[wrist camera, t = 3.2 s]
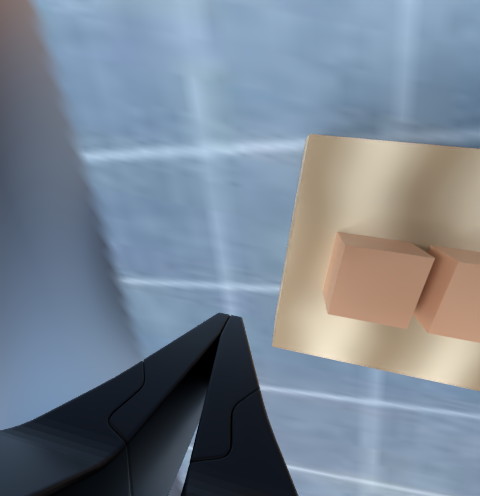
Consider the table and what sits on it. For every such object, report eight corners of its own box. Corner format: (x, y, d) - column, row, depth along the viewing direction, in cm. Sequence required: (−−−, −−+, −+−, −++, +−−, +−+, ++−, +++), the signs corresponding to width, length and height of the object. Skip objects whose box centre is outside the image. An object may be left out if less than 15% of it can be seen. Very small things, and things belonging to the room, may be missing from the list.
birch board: (555, 162, 15) (644, 163, 11) (460, 351, 20) (500, 395, 16) (305, 140, 17) (309, 134, 13) (275, 314, 22) (272, 346, 18)
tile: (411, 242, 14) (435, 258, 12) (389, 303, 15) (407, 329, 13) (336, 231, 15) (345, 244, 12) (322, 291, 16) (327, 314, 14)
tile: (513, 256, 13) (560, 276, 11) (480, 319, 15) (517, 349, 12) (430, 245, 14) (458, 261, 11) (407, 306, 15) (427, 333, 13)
